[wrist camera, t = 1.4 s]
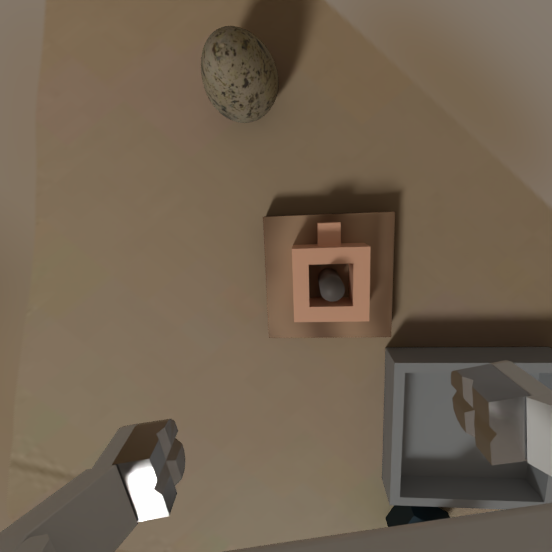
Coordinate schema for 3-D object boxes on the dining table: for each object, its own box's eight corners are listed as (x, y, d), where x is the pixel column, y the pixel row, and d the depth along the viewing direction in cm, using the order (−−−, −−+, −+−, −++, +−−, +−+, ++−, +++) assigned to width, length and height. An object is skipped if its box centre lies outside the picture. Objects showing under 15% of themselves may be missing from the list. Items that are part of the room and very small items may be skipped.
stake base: (389, 211, 32) (410, 212, 26) (386, 329, 34) (404, 357, 28) (265, 216, 33) (256, 218, 27) (270, 330, 35) (263, 357, 29)
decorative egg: (271, 138, 31) (257, 107, 22) (211, 121, 32) (170, 83, 22) (288, 70, 30) (281, 5, 20) (225, 53, 30) (188, -20, 20)
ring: (364, 220, 30) (370, 222, 27) (363, 310, 32) (369, 321, 29) (292, 223, 31) (290, 225, 28) (294, 311, 33) (294, 322, 30)
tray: (548, 346, 33) (576, 362, 30) (530, 482, 37) (554, 511, 33) (385, 347, 35) (394, 363, 31) (382, 478, 38) (389, 505, 35)
